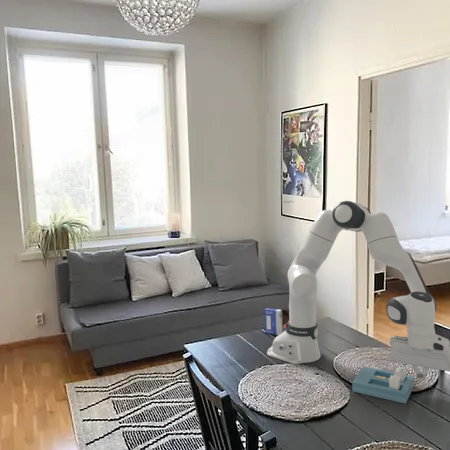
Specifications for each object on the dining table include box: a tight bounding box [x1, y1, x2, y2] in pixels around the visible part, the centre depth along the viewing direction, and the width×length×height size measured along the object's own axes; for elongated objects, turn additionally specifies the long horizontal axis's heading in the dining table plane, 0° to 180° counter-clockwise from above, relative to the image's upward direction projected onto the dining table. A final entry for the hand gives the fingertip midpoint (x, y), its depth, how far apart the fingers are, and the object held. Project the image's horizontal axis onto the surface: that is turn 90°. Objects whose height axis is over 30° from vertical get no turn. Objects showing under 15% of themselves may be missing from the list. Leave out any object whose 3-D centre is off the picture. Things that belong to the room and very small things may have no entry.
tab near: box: [389, 374, 400, 390], centre depth 158 cm, size 3×3×5 cm
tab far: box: [394, 366, 407, 382], centre depth 164 cm, size 3×3×5 cm
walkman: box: [263, 307, 283, 336], centre depth 220 cm, size 8×3×12 cm, turn 64°
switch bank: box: [351, 366, 415, 404], centre depth 164 cm, size 18×14×4 cm
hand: (420, 377), depth 160 cm, fingers closed
